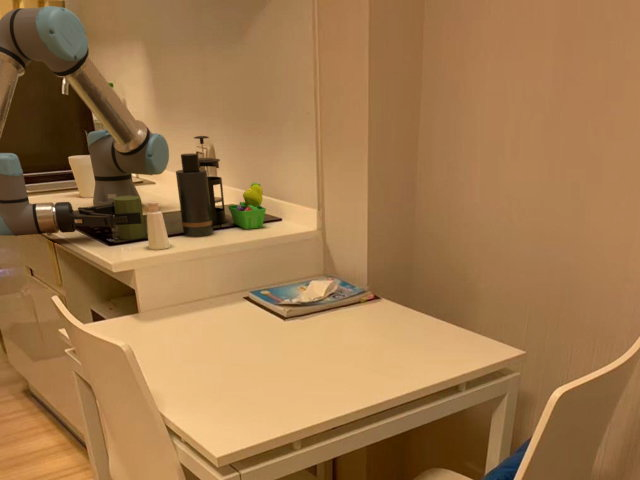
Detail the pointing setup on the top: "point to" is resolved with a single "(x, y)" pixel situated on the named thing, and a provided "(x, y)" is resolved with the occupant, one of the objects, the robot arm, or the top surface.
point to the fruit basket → (249, 209)
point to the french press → (216, 213)
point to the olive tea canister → (130, 206)
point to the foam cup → (83, 174)
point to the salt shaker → (156, 227)
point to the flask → (194, 197)
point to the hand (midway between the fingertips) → (141, 213)
